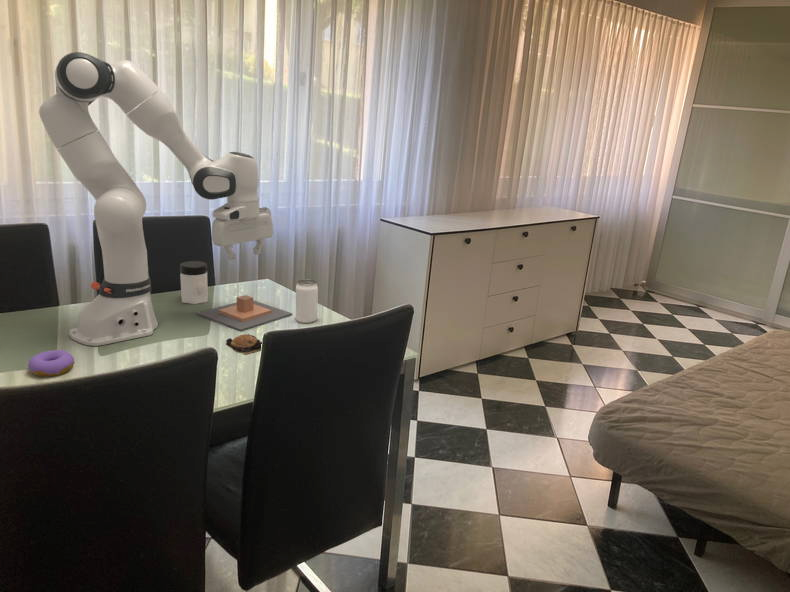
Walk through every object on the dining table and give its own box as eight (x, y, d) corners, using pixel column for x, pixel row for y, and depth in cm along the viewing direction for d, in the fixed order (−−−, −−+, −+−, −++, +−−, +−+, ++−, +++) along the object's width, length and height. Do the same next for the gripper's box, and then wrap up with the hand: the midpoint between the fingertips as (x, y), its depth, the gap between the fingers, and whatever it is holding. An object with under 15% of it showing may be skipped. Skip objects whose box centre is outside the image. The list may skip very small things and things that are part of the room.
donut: (26, 364, 145) (29, 344, 144) (70, 365, 150) (73, 346, 149) (27, 380, 137) (30, 360, 136) (74, 381, 142) (76, 362, 141)
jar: (187, 306, 191) (186, 268, 188) (176, 299, 197) (174, 263, 193) (214, 300, 197) (212, 264, 194) (202, 294, 203) (200, 259, 199)
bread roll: (270, 350, 163) (270, 337, 162) (243, 358, 157) (242, 344, 156) (248, 338, 170) (248, 325, 169) (221, 345, 164) (221, 332, 163)
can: (306, 325, 181) (306, 286, 177) (291, 319, 184) (291, 281, 181) (321, 320, 186) (322, 282, 182) (306, 314, 189) (306, 277, 186)
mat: (240, 331, 173) (240, 329, 173) (197, 314, 184) (197, 312, 184) (292, 315, 188) (292, 313, 188) (249, 300, 200) (249, 298, 199)
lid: (242, 321, 179) (242, 305, 177) (218, 312, 185) (218, 297, 183) (271, 313, 187) (271, 297, 186) (247, 304, 193) (247, 289, 192)
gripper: (263, 204, 186) (264, 249, 191) (207, 212, 171) (209, 260, 175) (277, 207, 183) (278, 252, 187) (222, 215, 167) (223, 264, 171)
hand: (244, 256), depth 181 cm, fingers open, 8 cm apart
